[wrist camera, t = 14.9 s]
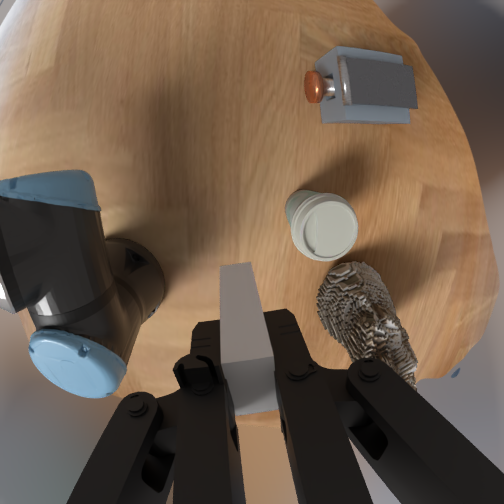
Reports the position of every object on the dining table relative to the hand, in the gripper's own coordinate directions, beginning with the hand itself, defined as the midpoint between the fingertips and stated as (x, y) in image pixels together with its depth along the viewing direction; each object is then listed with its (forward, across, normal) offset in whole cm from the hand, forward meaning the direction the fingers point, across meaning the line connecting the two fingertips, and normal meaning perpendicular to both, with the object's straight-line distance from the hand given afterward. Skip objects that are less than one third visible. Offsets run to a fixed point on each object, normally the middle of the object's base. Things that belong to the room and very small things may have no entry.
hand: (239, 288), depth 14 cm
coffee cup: (+30, +11, -4) cm, 32 cm away
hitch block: (+29, +20, +14) cm, 38 cm away
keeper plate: (+20, +20, +14) cm, 31 cm away
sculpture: (+30, +20, -23) cm, 43 cm away
